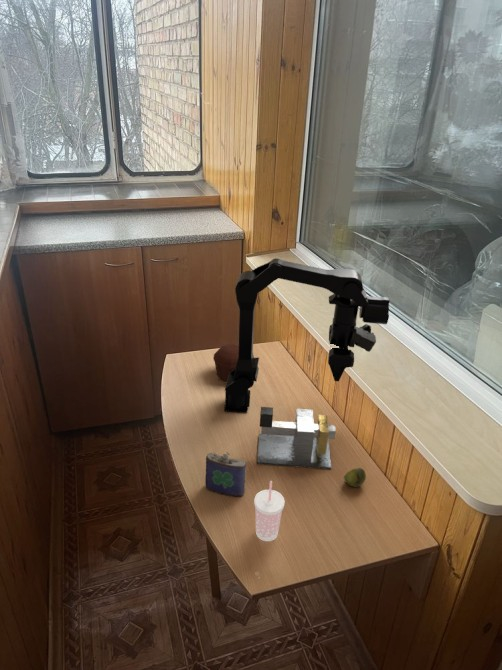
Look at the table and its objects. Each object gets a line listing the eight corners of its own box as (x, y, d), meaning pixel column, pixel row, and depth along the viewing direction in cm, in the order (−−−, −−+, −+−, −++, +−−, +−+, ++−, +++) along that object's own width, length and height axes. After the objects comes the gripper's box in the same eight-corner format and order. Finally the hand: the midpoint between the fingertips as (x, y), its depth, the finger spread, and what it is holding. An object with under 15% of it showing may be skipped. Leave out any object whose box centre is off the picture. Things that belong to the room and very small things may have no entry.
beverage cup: (267, 516, 110) (271, 466, 104) (287, 534, 106) (293, 483, 100) (246, 530, 106) (248, 479, 100) (266, 549, 102) (270, 498, 96)
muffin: (248, 386, 155) (250, 358, 150) (212, 385, 155) (212, 356, 150) (249, 366, 165) (250, 339, 161) (214, 365, 165) (215, 337, 160)
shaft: (259, 434, 125) (260, 414, 123) (259, 427, 128) (260, 406, 125) (334, 440, 125) (337, 419, 122) (333, 432, 128) (336, 411, 125)
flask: (245, 490, 117) (247, 454, 112) (242, 499, 114) (243, 462, 109) (207, 481, 119) (207, 445, 114) (203, 490, 116) (202, 453, 111)
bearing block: (257, 463, 125) (259, 431, 120) (259, 435, 134) (261, 403, 130) (331, 469, 124) (336, 436, 119) (327, 440, 134) (332, 408, 129)
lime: (340, 485, 119) (343, 469, 117) (350, 474, 123) (353, 458, 120) (358, 494, 117) (361, 478, 115) (367, 483, 120) (370, 466, 118)
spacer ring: (317, 454, 125) (320, 431, 122) (315, 436, 131) (318, 414, 128) (325, 454, 125) (328, 432, 122) (323, 437, 131) (326, 415, 128)
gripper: (379, 340, 121) (369, 395, 128) (374, 308, 137) (365, 358, 144) (332, 334, 122) (324, 389, 129) (332, 303, 138) (325, 353, 146)
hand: (336, 371), depth 137 cm, fingers open, 9 cm apart
